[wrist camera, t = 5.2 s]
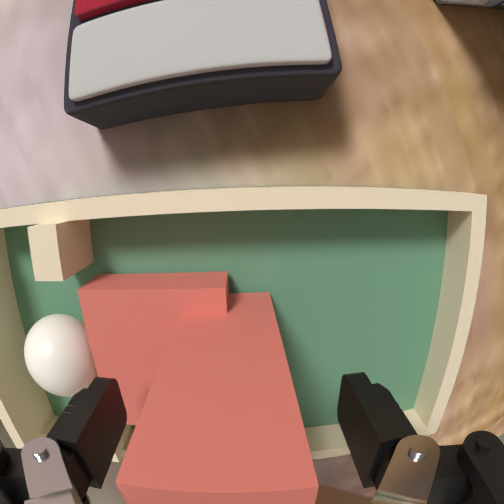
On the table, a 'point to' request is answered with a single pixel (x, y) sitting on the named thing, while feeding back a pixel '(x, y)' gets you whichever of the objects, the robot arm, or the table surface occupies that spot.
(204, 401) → the block
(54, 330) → the ball
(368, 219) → the pitch
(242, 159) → the table surface
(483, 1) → the label tape cartridge
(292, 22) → the calculator
